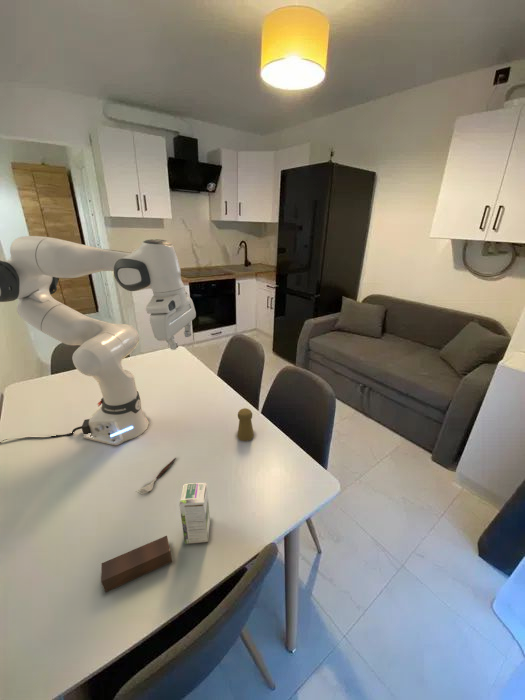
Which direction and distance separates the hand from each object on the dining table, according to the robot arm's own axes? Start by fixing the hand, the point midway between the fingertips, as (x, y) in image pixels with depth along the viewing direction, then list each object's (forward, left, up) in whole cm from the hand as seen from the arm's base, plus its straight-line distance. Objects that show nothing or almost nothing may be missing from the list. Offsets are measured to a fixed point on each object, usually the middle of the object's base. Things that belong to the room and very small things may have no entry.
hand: (181, 342), depth 90 cm
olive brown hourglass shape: (+19, +3, -38) cm, 43 cm away
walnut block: (+1, -43, -38) cm, 57 cm away
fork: (-5, -18, -38) cm, 43 cm away
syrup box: (+12, -34, -38) cm, 52 cm away
